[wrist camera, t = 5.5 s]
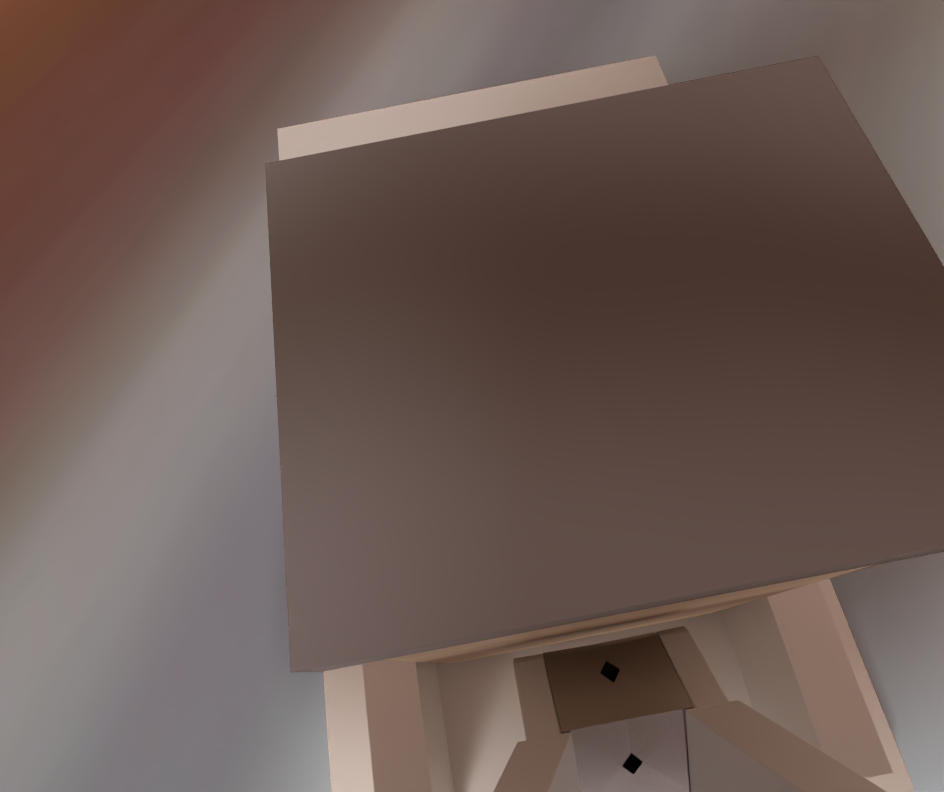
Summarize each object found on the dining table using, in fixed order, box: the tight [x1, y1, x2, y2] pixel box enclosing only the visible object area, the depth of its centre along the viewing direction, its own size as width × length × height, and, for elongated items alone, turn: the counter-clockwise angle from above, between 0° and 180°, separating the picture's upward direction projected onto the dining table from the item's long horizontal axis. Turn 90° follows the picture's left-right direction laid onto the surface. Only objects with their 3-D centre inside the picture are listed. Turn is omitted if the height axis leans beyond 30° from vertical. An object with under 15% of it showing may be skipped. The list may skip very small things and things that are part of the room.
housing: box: [278, 55, 915, 792], centre depth 15 cm, size 18×12×5 cm
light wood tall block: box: [265, 56, 944, 672], centre depth 10 cm, size 5×6×10 cm
